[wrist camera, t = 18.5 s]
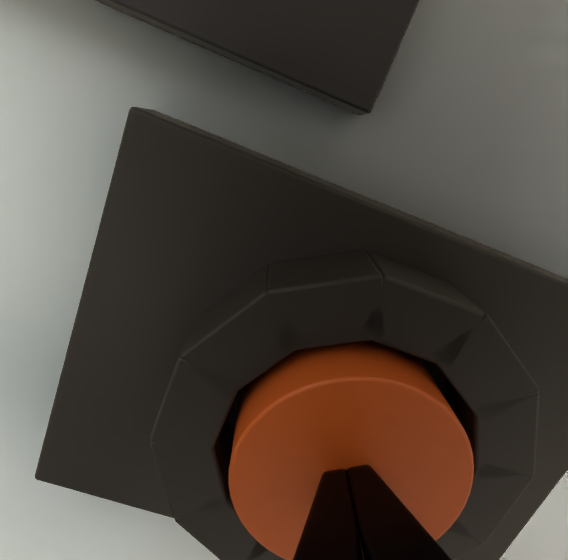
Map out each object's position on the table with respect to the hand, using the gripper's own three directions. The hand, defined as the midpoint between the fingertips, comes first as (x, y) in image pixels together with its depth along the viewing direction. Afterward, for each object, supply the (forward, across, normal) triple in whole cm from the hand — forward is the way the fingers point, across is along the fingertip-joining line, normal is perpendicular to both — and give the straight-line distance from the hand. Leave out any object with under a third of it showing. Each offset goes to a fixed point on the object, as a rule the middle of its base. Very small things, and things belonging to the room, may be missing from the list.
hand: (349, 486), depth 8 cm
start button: (+2, 0, 0) cm, 2 cm away
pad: (+4, 0, 0) cm, 4 cm away
